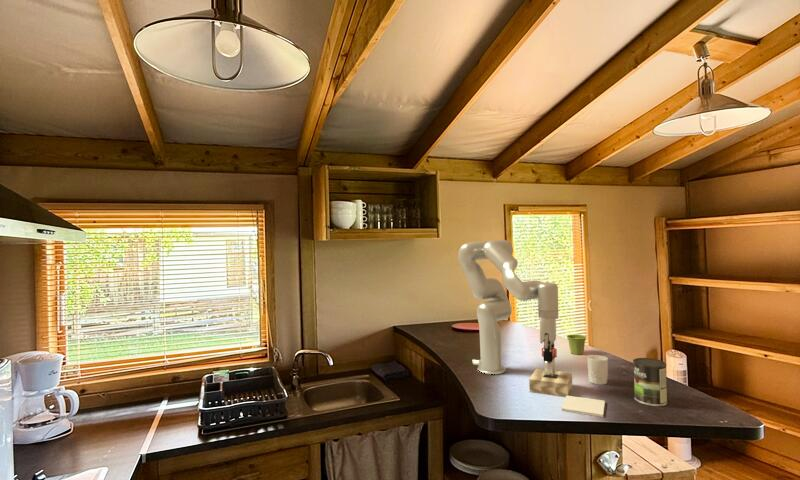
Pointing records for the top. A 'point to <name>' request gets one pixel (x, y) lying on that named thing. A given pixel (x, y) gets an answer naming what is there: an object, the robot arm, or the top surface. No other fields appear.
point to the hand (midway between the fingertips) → (549, 358)
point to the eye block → (551, 383)
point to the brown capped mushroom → (550, 364)
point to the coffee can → (650, 381)
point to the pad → (584, 406)
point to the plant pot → (576, 344)
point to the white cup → (597, 369)
